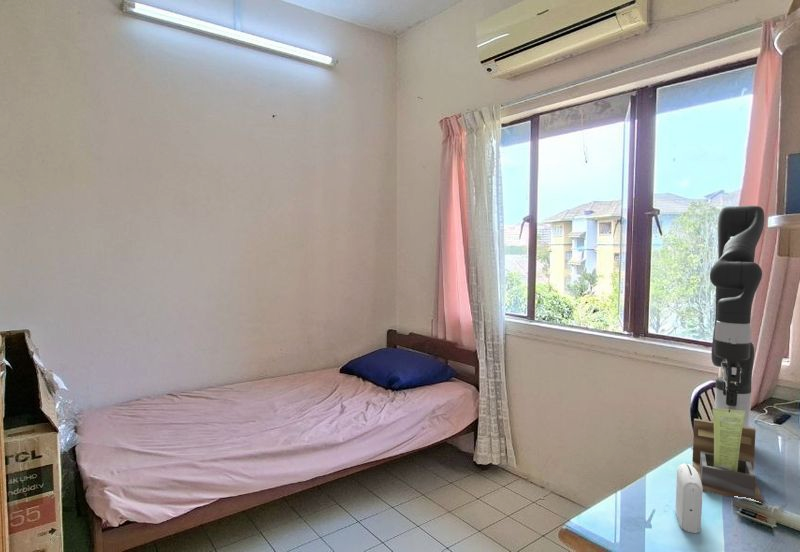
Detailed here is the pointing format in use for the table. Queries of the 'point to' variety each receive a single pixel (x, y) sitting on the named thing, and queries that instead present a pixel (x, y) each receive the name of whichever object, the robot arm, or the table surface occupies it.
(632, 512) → the table surface
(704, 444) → the wall rack
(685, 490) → the photo printer
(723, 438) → the tube
